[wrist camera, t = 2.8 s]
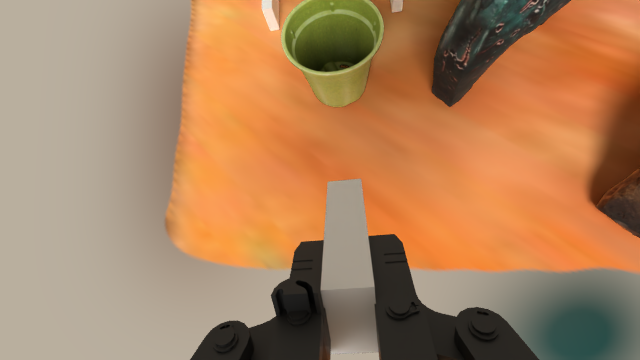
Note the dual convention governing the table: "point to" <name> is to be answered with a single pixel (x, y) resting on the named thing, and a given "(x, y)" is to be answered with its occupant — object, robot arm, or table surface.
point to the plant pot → (333, 46)
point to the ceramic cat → (482, 40)
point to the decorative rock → (624, 203)
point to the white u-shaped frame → (272, 11)
